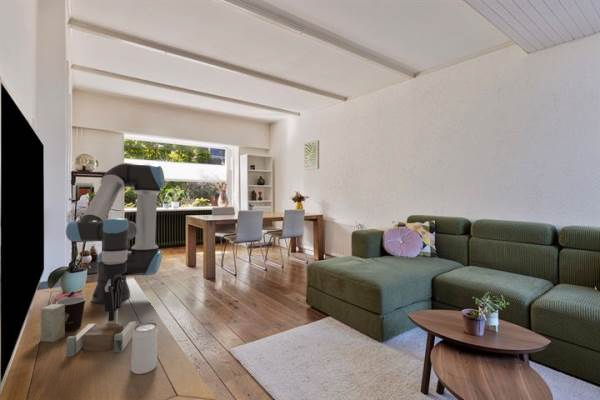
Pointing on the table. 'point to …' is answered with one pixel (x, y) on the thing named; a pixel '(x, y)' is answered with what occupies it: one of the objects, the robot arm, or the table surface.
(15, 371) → the table surface
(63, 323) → the box
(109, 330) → the block
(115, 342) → the chute
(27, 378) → the table surface
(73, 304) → the coffee mug
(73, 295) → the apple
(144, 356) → the can
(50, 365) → the table surface
